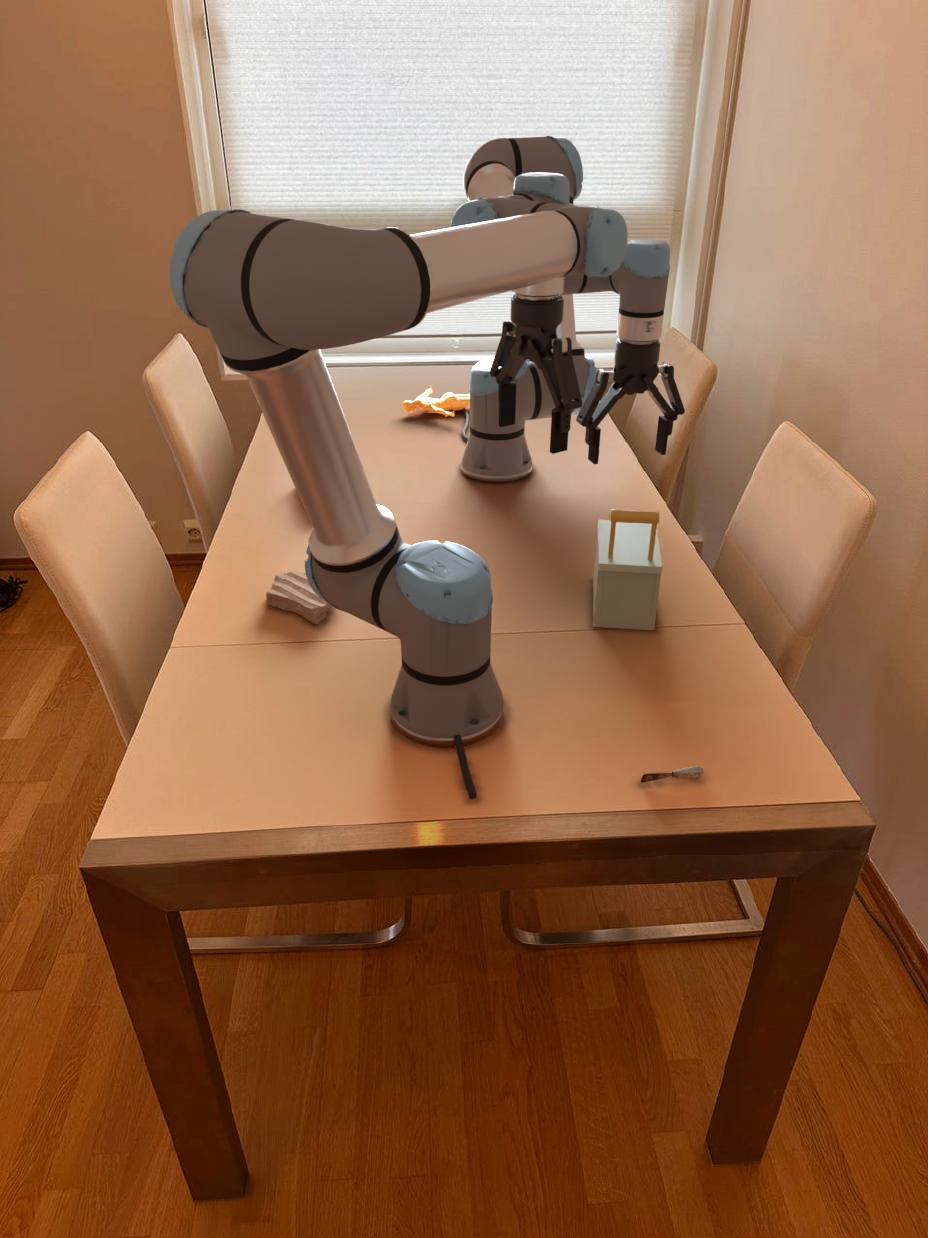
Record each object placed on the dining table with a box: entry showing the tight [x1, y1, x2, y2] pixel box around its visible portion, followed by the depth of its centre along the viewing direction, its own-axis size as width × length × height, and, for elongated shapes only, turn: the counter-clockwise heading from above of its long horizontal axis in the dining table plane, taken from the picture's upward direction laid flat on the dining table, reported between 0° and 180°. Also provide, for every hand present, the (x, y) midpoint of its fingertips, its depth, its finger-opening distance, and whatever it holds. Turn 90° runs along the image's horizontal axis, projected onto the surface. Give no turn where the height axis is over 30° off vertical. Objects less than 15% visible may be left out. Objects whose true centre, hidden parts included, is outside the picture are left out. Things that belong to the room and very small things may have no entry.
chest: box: [592, 529, 662, 631], centre depth 142 cm, size 14×9×10 cm, turn 173°
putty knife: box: [640, 765, 705, 784], centre depth 109 cm, size 1×8×2 cm, turn 103°
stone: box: [265, 571, 332, 625], centre depth 145 cm, size 13×12×2 cm
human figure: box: [402, 385, 470, 418], centre depth 225 cm, size 20×20×4 cm
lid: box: [597, 508, 664, 575], centre depth 136 cm, size 15×9×9 cm, turn 173°
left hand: (531, 437), depth 138 cm, fingers open, 13 cm apart
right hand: (626, 456), depth 163 cm, fingers open, 13 cm apart
